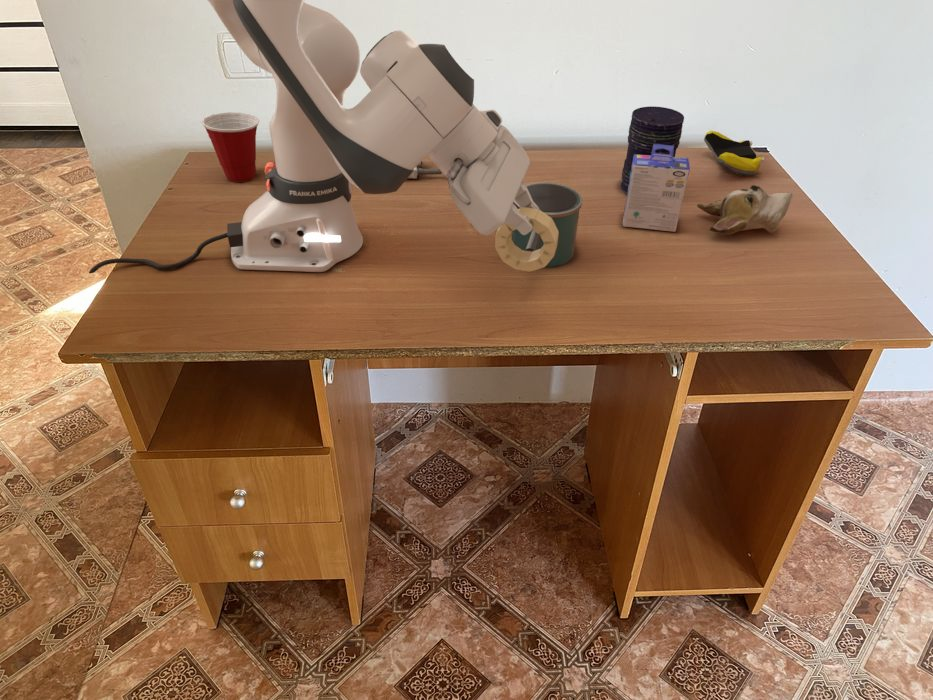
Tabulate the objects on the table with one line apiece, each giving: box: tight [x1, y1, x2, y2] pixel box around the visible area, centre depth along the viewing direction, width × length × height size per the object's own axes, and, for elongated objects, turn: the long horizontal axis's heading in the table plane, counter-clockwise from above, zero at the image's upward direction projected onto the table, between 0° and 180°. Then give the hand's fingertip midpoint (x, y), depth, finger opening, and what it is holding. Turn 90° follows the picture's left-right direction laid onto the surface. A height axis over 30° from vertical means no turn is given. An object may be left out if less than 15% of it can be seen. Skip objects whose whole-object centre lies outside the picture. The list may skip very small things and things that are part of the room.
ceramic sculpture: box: [696, 184, 793, 236], centre depth 123 cm, size 11×9×15 cm
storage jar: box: [619, 106, 685, 195], centre depth 134 cm, size 10×10×15 cm
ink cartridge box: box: [621, 144, 691, 233], centre depth 123 cm, size 10×6×14 cm, turn 78°
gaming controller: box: [703, 130, 765, 178], centre depth 145 cm, size 15×6×10 cm
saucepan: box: [511, 182, 583, 268], centre depth 112 cm, size 22×12×10 cm, turn 166°
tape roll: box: [494, 207, 559, 273], centre depth 96 cm, size 8×3×8 cm, turn 76°
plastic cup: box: [201, 111, 260, 183], centre depth 138 cm, size 11×11×12 cm
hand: (532, 222), depth 94 cm, fingers closed on tape roll, 3 cm apart
